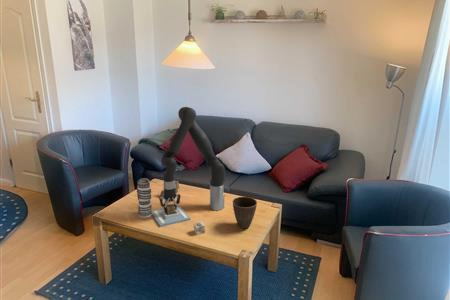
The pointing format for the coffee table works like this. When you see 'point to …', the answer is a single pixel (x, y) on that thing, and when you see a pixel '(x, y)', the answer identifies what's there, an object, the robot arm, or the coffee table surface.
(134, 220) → the coffee table surface
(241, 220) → the plant pot
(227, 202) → the coffee table surface
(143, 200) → the grey stacked tower
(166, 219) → the jig
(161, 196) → the wooden block set
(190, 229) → the coffee table surface
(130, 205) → the coffee table surface
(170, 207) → the block
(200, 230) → the block
